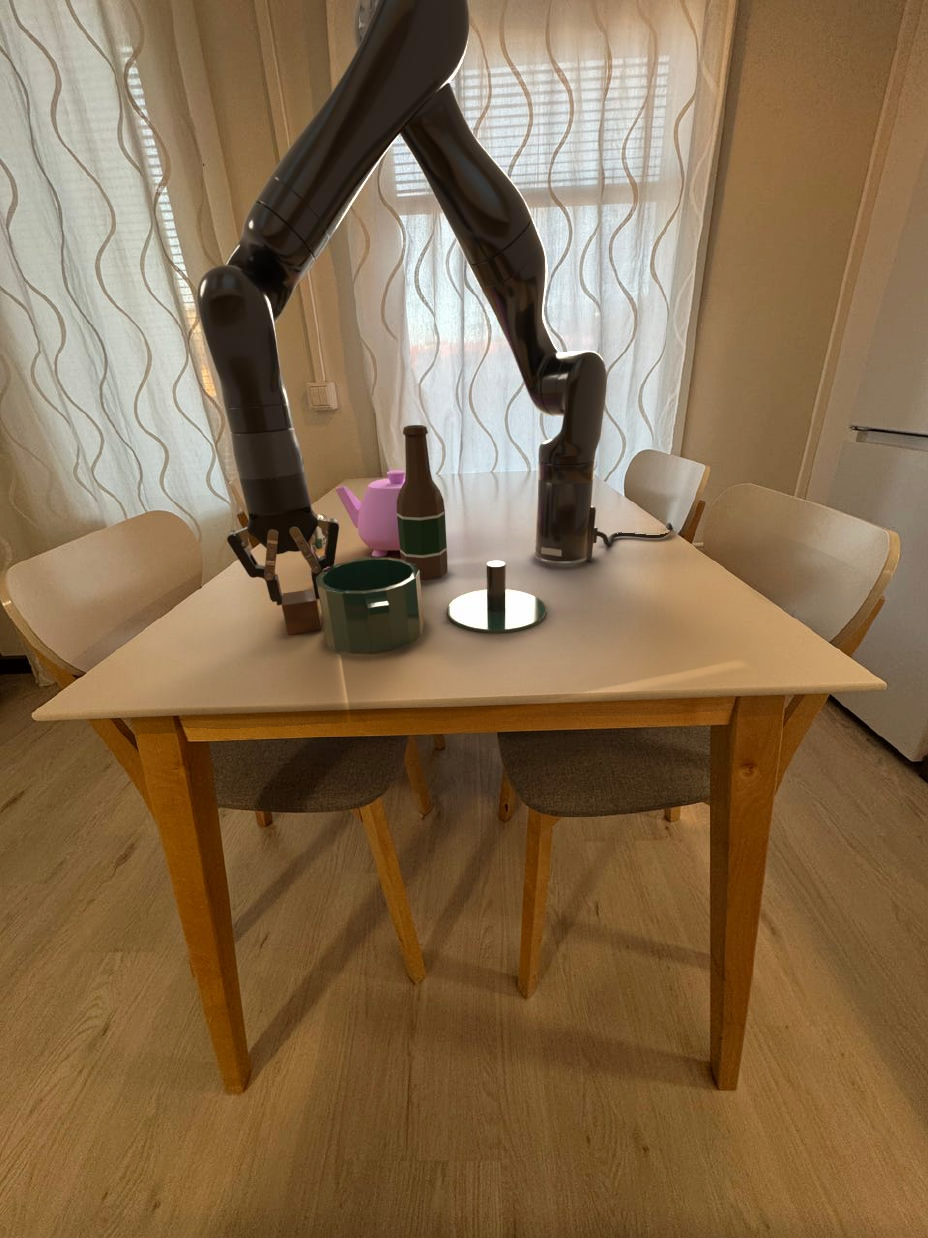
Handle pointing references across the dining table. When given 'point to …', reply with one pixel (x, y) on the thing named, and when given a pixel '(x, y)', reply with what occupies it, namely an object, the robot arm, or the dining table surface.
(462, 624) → the lid
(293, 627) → the block
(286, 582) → the dining table surface
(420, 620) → the pot
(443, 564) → the beer bottle
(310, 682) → the dining table surface
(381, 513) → the teapot
